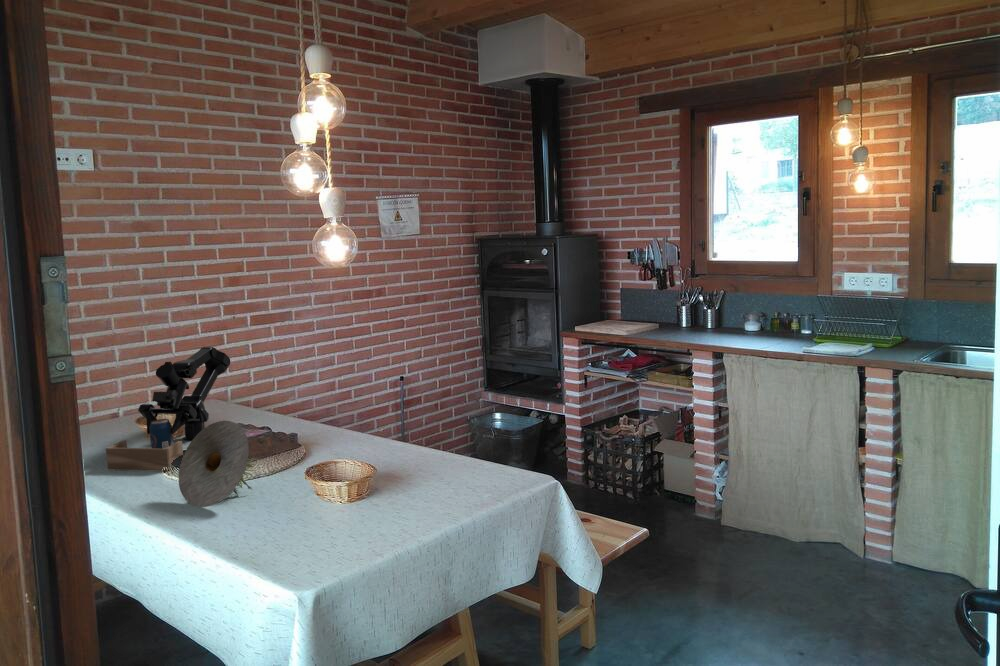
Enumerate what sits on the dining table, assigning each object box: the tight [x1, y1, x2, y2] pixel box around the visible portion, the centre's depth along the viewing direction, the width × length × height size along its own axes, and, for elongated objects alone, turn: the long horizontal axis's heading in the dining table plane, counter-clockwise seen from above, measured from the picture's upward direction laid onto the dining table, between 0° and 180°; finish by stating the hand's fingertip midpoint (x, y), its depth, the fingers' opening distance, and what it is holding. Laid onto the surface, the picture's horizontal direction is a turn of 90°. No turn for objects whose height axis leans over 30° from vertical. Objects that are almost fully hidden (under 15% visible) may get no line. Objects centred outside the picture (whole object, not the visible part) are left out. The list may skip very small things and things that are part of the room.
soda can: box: [149, 418, 174, 449], centre depth 269 cm, size 7×7×12 cm
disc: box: [178, 420, 264, 508], centre depth 231 cm, size 25×18×25 cm
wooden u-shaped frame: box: [105, 439, 184, 472], centre depth 259 cm, size 9×21×7 cm, turn 82°
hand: (159, 433), depth 268 cm, fingers open, 8 cm apart
